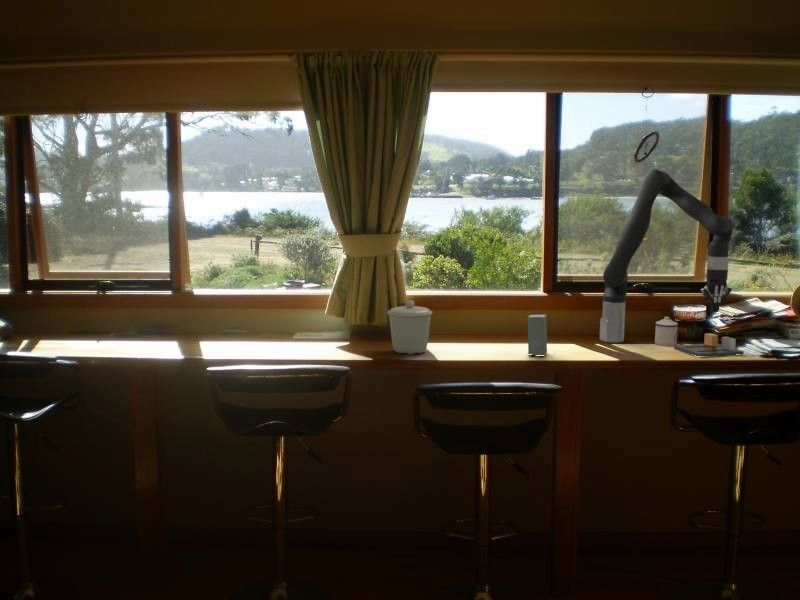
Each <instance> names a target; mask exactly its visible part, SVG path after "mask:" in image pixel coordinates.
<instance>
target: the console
mask: <svg viewBox="0 0 800 600" xmlns="http://www.w3.org/2000/svg"><path fill="white" fill-rule="evenodd" d="M721 345H722V343H718V344H717V346H709V345H705V344H704V343H696V344H695V343H694V344H678V345H677V344H676V345H674V346H673V347H674V348H673V349H674V350H675V349H676V350H675V351H678V350H679V351H678V352H681V351H682V353H684V352H686V353H685V354H687V353H689V354H688V355H690V354H693V355H696V356H718V357H726V356H725V355H736V354H745V353H744V350H741V349H737V348H735V350H727V349H723V348H721ZM693 355H692V356H693ZM736 356H737V355H736Z"/></svg>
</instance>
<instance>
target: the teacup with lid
mask: <svg viewBox="0 0 800 600" xmlns="http://www.w3.org/2000/svg"><path fill="white" fill-rule="evenodd" d="M678 327H679V323H678V322H676V321H673V320H672V319H671V318H670V317H669V316H664V318H663V319H662V318H661V320H658V321H656V322H655V332H654V333H655V334H654V335H655V336H654V343H655V345H658V346H663V347H664V346H665V347H674V345H677V341H678V340H677V339H678Z"/></svg>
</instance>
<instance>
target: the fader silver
mask: <svg viewBox="0 0 800 600" xmlns="http://www.w3.org/2000/svg"><path fill="white" fill-rule="evenodd" d="M736 340H737V339H736V338H733V337H732V336H731V337H729V336H723V337H721V348H723V349H727V350H735V349H736V345H737V344H736Z"/></svg>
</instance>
